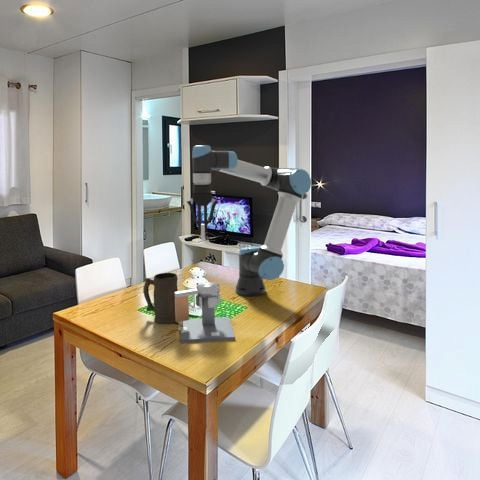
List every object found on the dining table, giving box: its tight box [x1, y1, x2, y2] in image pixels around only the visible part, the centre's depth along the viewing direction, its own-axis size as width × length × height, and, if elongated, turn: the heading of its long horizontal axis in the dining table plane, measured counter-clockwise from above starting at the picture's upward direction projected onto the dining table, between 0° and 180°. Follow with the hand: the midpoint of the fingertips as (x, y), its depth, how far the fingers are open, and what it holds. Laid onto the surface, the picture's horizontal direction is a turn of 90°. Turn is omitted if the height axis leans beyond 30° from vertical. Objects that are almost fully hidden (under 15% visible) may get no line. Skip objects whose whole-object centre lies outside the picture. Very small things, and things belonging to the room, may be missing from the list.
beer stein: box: [143, 272, 179, 325], centre depth 172 cm, size 15×10×20 cm
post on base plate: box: [178, 298, 236, 344], centre depth 161 cm, size 21×20×13 cm
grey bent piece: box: [175, 281, 221, 323], centre depth 162 cm, size 18×9×13 cm, turn 117°
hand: (202, 239), depth 176 cm, fingers closed
